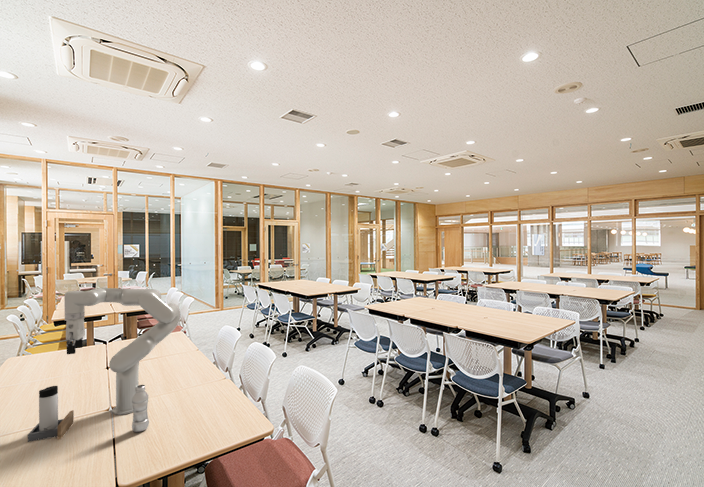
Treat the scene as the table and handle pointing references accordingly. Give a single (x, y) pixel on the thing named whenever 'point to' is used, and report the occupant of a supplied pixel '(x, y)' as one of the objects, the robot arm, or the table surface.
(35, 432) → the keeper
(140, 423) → the plastic bottle
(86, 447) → the table surface
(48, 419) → the travel mug
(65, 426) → the board
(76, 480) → the table surface
